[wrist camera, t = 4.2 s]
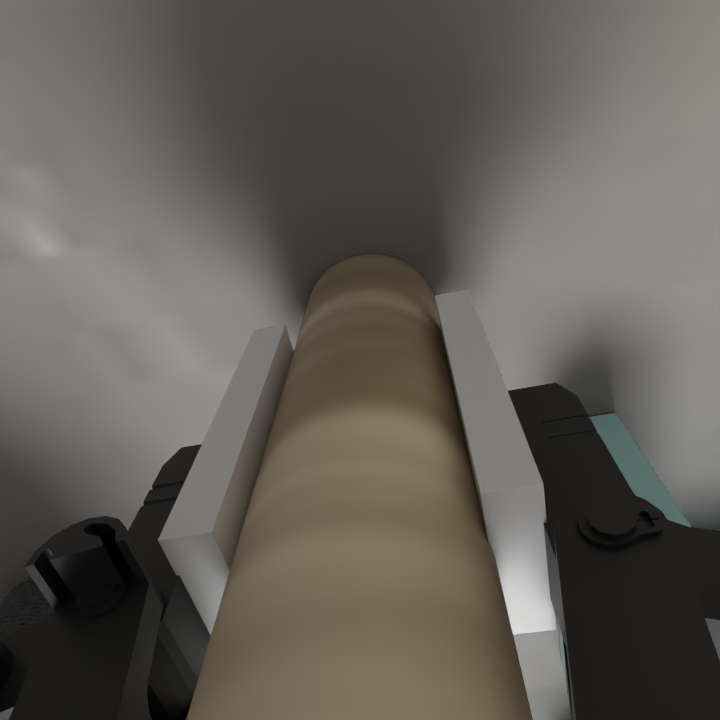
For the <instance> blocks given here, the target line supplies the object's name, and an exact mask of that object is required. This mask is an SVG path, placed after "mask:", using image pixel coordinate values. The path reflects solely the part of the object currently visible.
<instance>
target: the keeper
mask: <svg viewBox="0 0 720 720" xmlns="http://www.w3.org/2000/svg"><path fill="white" fill-rule="evenodd" d="M588 418H590V419H591V421H592V423H593V424H594V426H595V428H596V430H597V433H599V435H600V436H601V438H602V440H603V441H604V443H605V445H606V447H607V448H608V450H609V452H610V453H611V455H612V457H613V459H614V460H615V462H616V464H617V465H618V467H619V469H620V471H621V472H622V474H623V476H624V477H625V479H626V481H627V483H628V484H629V486H630V488H631V489H632V491H633V493H634V494H635V495H636V496H638V497H641V498H643V499H646V500H647V501H648V502H650V503H651V504H653V505H654V506H655V507H657V508H658V509H660V510H661V511H662V512H663V513H664V515H665V517H666V518H667V519H668V520H670V521H673V522H676V523H679V524H682V525H685V526H688V527H691V525H690V524H689V522H688V521H687V519H686V518H685V516H684V515H683V513H682V512H681V510H680V509H679V507H678V506H677V504H676V503H675V501H674V500H673V498H672V497H671V495H670V494H669V492H668V491H667V489H666V488H665V486H664V485H663V483H662V482H661V480H660V479H659V477H658V476H657V474H656V473H655V471H654V470H653V468H652V467H651V465H650V464H649V462H648V461H647V459H646V458H645V456H644V455H643V453H642V452H641V450H640V449H639V447H638V446H637V444H636V443H635V441H634V440H633V438H632V437H631V435H630V434H629V432H628V431H627V429H626V428H625V426H624V425H623V423H622V422H621V420H620V419H619V417H618V416H617V414H616V413H611V414H604V415H598V416H592V417H588ZM558 628H559V640H560V651H561V661H562V664H563V668H564V671H565V674H566V669H565V657H564V645H563V636H562V633H561V630H560V627H559V624H558Z"/></svg>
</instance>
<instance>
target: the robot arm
mask: <svg viewBox="0 0 720 720" xmlns="http://www.w3.org/2000/svg"><path fill="white" fill-rule="evenodd" d="M435 300H436V306H437V312H438V318H439V323H440V329H441V334H442V338H443V343H444V347H445V351H446V356H447V360H448V365H449V369H450V374H451V378H452V383H453V387H454V391H455V396H456V400H457V405H458V409H459V414H460V418H461V423H462V427H463V431H464V436H465V440H466V445H467V449H468V454H469V458H470V462H471V467H472V471H473V476H474V480H475V485H476V489H477V494H478V498H479V502H480V507H481V511H482V516H483V520H484V525H485V529H486V534H487V538H488V542H489V545H490V547H491V549H492V551H493V553H494V556H495V560H496V564H497V568H498V572H499V577H500V581H501V585H502V590H503V594H504V598H505V602H506V607H507V611H508V615H509V620H510V624H511V628H512V633H513V634H522V633H531V632H540V631H549V630H557V629H556V618H555V614H556V617H557V620H558V624H559V627H560V630H561V633H562V636H563V645H564V657H565V669H566V681H567V693H568V695H569V704H570V713H571V720H720V531H713V530H705V529H699V528H694V527H688V526H685V525H682V524H679V523H676V522H673V521H670V520H668V519H667V518H666V517H665V515H664V513H663V512H662V511H661V510H660V509H658V508H657V507H655V506H654V505H653V504H651V503H650V502H648V501H647V500H646V499H643V498H641V497H638V496H636V495H635V494H634V493H633V491H632V489H631V488H630V486H629V484H628V483H627V481H626V479H625V477H624V476H623V474H622V472H621V471H620V469H619V467H618V465H617V464H616V462H615V460H614V459H613V457H612V455H611V453H610V452H609V450H608V448H607V447H606V445H605V443H604V441H603V440H602V438H601V436H600V435H599V433H597V430H596V428H595V426H594V424H593V423H592V421H591V419H590V418H588V414H587V412H586V411H585V409H584V407H583V406H582V404H581V402H580V400H579V399H578V397H577V396H576V395H574V394H573V393H571V392H570V391H568V390H567V389H565V388H563V387H562V386H560V385H559V384H557V383H552V384H546V385H540V386H534V387H528V388H522V389H516V390H510V391H507V388H506V385H505V383H504V380H503V378H502V375H501V372H500V370H499V367H498V365H497V362H496V359H495V357H494V354H493V352H492V349H491V346H490V344H489V341H488V339H487V336H486V333H485V331H484V328H483V326H482V323H481V320H480V318H479V315H478V313H477V310H476V308H475V305H474V302H473V300H472V297H471V295H470V292H469V289H466V290H461V291H456V292H450V293H445V294H440V295H435ZM293 353H294V351H293V348H292V345H291V341H290V338H289V335H288V332H287V329H286V325H279V326H274V327H269V328H264V329H259V330H254V332H253V334H252V336H251V339H250V341H249V343H248V345H247V347H246V349H245V352H244V354H243V356H242V358H241V360H240V363H239V365H238V367H237V369H236V371H235V373H234V376H233V378H232V380H231V382H230V384H229V387H228V389H227V391H226V393H225V395H224V397H223V400H222V402H221V404H220V406H219V408H218V410H217V413H216V415H215V417H214V419H213V421H212V424H211V426H210V428H209V430H208V432H207V434H206V437H205V439H204V441H203V443H202V444H201V445H195V446H189V447H183V448H181V449H180V450H179V451H178V452H177V453H176V454H175V455H174V456H172V457H171V458H170V459H169V460H168V461H167V462H166V463H165V464H164V465H163V466H162V468H161V470H160V472H159V474H158V476H157V478H156V479H155V481H154V483H153V485H152V490H150V491H149V493H148V495H147V496H146V498H145V500H144V502H143V503H144V506H142V507H141V508H140V510H139V511H138V513H137V515H136V517H135V519H134V521H133V523H132V525H131V527H130V528H129V530H128V531H127V529H126V527H125V526H124V525H123V524H122V523H121V521H120V520H119V519H116V518H112V517H107V516H104V517H96V518H89V519H87V520H84V521H81V522H79V523H76V524H74V525H71V526H69V527H68V528H66V529H64V530H63V531H61V532H59V533H58V534H56V535H54V536H53V537H51V538H50V539H49V540H48V541H47V542H46V543H45V544H43V545H42V546H41V547H40V548H39V549H38V550H37V551H36V552H35V553H34V554H33V556H32V557H31V558H30V560H29V561H28V563H27V564H26V565H25V567H24V568H25V569H26V570H27V572H28V573H29V575H30V576H31V578H32V579H33V580H34V582H35V583H36V585H37V586H38V588H39V589H40V591H41V592H42V593H43V595H44V596H45V598H46V599H47V601H48V602H49V603H50V605H51V606H52V608H53V609H54V611H53V613H52V616H51V617H50V618H48V619H46V620H43V621H41V622H38V623H36V624H33V625H31V626H28V627H26V628H23V629H21V630H18V631H16V632H13V633H11V634H8V635H6V636H3V637H1V638H0V720H186V719H187V716H188V712H189V709H190V705H191V702H192V698H193V695H194V692H195V688H196V685H197V681H198V678H199V674H200V671H201V668H202V664H203V661H204V657H205V654H206V651H207V647H208V644H209V640H210V637H211V633H212V630H213V627H214V623H215V620H216V616H217V613H218V609H219V606H220V603H221V599H222V596H223V592H224V589H225V585H226V582H227V579H228V575H229V572H230V568H231V565H232V562H233V558H234V555H235V551H236V548H237V544H238V541H239V538H240V534H241V531H242V527H243V524H244V520H245V517H246V514H247V510H248V507H249V503H250V500H251V496H252V493H253V490H254V486H255V483H256V479H257V476H258V472H259V469H260V466H261V462H262V459H263V455H264V452H265V449H266V445H267V442H268V438H269V435H270V431H271V428H272V425H273V421H274V418H275V414H276V411H277V407H278V404H279V401H280V397H281V394H282V390H283V387H284V383H285V380H286V377H287V373H288V370H289V366H290V363H291V360H292V356H293Z"/></svg>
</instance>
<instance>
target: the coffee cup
mask: <svg viewBox="0 0 720 720" xmlns="http://www.w3.org/2000/svg"><path fill="white" fill-rule="evenodd" d="M53 611H54V609H53V608H52V606H51V605H50V603H49V602H48V601H47V599H46V598H45V596H44V595H43V593H42V592H41V591H40V589H39V588H38V586H37V585H36V583H35V582H34V580H30V581H27V582H25V583H23V584H21V585H19V586H18V587H16V588H15V589H13V590H12V591H11V592H10V593H9V594H8V595H7V596H6V597H5V599H4V600H3V601H2V602H1V603H0V638H1V637H3V636H6V635H8V634H11V633H13V632H16V631H18V630H21V629H23V628H26V627H28V626H31V625H33V624H36V623H38V622H41V621H43V620H46V619H48V618H50V617H51V616H52V613H53Z"/></svg>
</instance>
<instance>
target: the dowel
mask: <svg viewBox="0 0 720 720" xmlns="http://www.w3.org/2000/svg"><path fill="white" fill-rule="evenodd" d="M186 720H533V719H532V715H531V710H530V706H529V702H528V698H527V693H526V689H525V685H524V680H523V676H522V672H521V667H520V663H519V659H518V654H517V650H516V646H515V641H514V637H513V633H512V628H511V624H510V620H509V615H508V611H507V607H506V602H505V598H504V594H503V590H502V585H501V581H500V577H499V572H498V568H497V564H496V560H495V556H494V553H493V551H492V549H491V547H490V545H489V542H488V538H487V534H486V529H485V525H484V520H483V516H482V511H481V507H480V502H479V498H478V494H477V489H476V485H475V480H474V476H473V471H472V467H471V462H470V458H469V454H468V449H467V445H466V440H465V436H464V431H463V427H462V423H461V418H460V414H459V409H458V405H457V400H456V396H455V391H454V387H453V383H452V378H451V374H450V369H449V365H448V360H447V356H446V351H445V347H444V343H443V338H442V334H441V329H440V323H439V318H438V312H437V306H436V300H435V296H434V294H433V292H432V289H431V287H430V286H429V284H428V282H427V281H426V280H425V278H424V277H423V276H422V275H421V274H420V273H419V272H418V271H417V270H416V269H415V268H413V267H412V266H411V265H409V264H408V263H406V262H404V261H402V260H400V259H397V258H395V257H391V256H387V255H381V254H363V255H357V256H353V257H349V258H347V259H345V260H342V261H340V262H339V263H337V264H335V265H333V266H332V267H331V268H330V269H328V270H327V271H326V272H325V273H324V274H323V275H322V276H321V277H320V279H319V280H318V281H317V283H316V284H315V286H314V288H313V290H312V292H311V295H310V298H309V301H308V305H307V308H306V312H305V315H304V318H303V322H302V325H301V329H300V332H299V336H298V339H297V342H296V346H295V349H294V353H293V356H292V360H291V363H290V366H289V370H288V373H287V377H286V380H285V383H284V387H283V390H282V394H281V397H280V401H279V404H278V407H277V411H276V414H275V418H274V421H273V425H272V428H271V431H270V435H269V438H268V442H267V445H266V449H265V452H264V455H263V459H262V462H261V466H260V469H259V472H258V476H257V479H256V483H255V486H254V490H253V493H252V496H251V500H250V503H249V507H248V510H247V514H246V517H245V520H244V524H243V527H242V531H241V534H240V538H239V541H238V544H237V548H236V551H235V555H234V558H233V562H232V565H231V568H230V572H229V575H228V579H227V582H226V585H225V589H224V592H223V596H222V599H221V603H220V606H219V609H218V613H217V616H216V620H215V623H214V627H213V630H212V633H211V637H210V640H209V644H208V647H207V651H206V654H205V657H204V661H203V664H202V668H201V671H200V674H199V678H198V681H197V685H196V688H195V692H194V695H193V698H192V702H191V705H190V709H189V712H188V716H187V719H186Z"/></svg>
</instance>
